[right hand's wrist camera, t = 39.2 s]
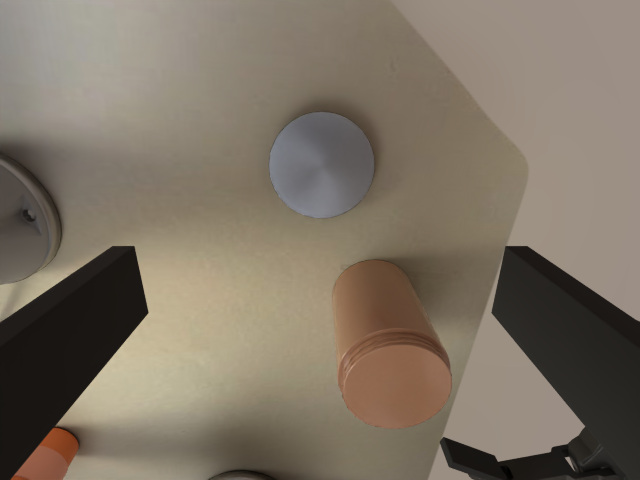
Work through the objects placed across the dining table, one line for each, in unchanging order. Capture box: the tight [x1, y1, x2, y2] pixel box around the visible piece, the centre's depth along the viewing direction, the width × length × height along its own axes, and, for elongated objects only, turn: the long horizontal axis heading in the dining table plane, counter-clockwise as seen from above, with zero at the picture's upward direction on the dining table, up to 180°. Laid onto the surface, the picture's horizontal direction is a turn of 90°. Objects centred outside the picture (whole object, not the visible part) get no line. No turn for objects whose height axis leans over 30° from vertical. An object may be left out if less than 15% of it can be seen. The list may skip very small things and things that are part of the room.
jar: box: [332, 260, 452, 429], centre depth 35 cm, size 10×10×15 cm
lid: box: [269, 112, 375, 218], centre depth 36 cm, size 11×11×2 cm
